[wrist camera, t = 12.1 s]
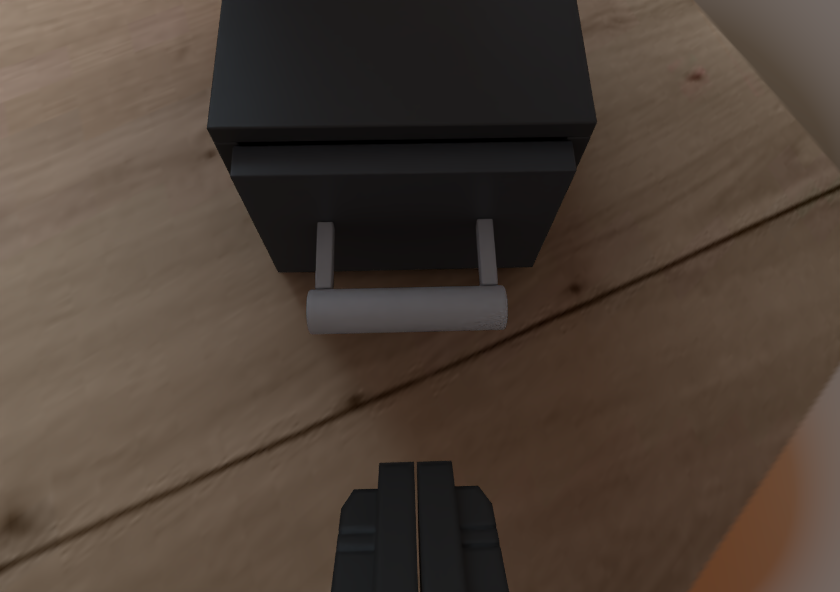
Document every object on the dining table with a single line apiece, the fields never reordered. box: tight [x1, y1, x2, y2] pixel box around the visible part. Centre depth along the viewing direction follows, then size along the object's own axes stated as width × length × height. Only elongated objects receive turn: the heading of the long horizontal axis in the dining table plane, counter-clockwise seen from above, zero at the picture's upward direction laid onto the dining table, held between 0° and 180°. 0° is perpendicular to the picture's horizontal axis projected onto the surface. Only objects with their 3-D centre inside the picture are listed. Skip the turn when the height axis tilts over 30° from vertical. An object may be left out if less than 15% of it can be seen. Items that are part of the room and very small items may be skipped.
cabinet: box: [207, 0, 597, 174], centre depth 27 cm, size 15×13×10 cm
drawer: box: [230, 137, 576, 334], centre depth 25 cm, size 18×11×8 cm, turn 2°
